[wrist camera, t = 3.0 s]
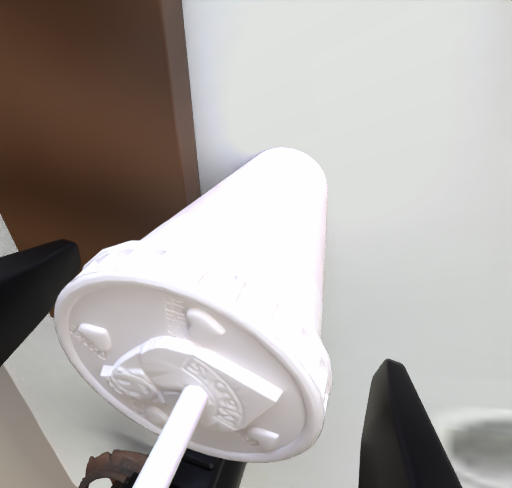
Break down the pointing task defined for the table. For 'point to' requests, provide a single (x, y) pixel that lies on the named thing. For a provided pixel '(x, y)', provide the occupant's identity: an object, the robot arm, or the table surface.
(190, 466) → the robot arm
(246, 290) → the smoothie
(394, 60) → the table surface
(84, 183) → the board
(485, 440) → the table surface
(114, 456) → the brown irregular piece
